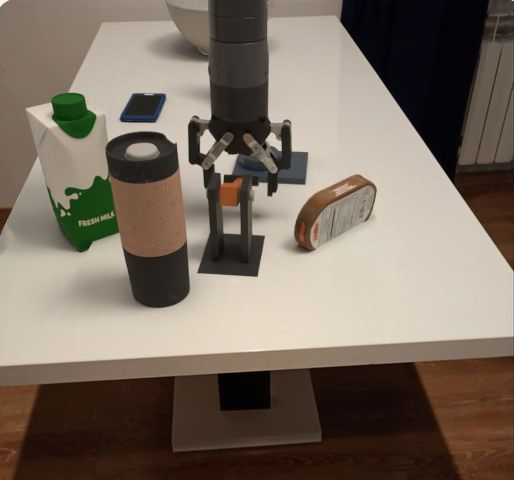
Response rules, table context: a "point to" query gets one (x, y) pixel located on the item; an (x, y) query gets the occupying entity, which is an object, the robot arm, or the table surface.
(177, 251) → the travel mug
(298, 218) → the tin
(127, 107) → the cell phone
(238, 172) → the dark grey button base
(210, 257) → the twin post stand
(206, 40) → the decorative bowl
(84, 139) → the milk carton
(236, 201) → the switch lever
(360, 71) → the table surface
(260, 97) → the robot arm
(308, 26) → the table surface
